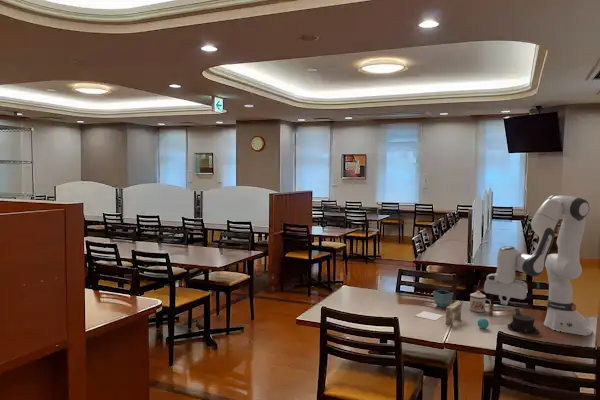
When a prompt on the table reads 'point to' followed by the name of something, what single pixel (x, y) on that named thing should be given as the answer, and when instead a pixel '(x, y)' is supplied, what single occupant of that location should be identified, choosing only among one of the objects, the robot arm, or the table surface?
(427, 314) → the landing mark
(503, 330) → the table surface
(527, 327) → the top hat
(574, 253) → the robot arm
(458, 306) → the bridge
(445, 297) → the flower pot
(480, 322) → the ball
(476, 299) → the teacup with lid
